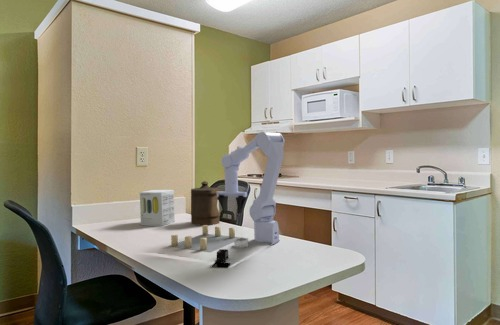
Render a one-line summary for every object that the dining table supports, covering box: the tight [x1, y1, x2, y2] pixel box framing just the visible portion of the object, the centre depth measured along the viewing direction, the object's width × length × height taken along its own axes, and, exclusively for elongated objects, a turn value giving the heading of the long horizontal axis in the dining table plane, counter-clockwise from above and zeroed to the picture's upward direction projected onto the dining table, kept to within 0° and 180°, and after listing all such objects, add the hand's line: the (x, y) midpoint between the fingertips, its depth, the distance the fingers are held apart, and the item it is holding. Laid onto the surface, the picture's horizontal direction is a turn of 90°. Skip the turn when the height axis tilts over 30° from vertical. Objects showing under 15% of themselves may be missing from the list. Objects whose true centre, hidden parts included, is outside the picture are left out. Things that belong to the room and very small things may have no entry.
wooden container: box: [190, 180, 220, 226], centre depth 185 cm, size 15×15×22 cm
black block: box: [210, 248, 232, 269], centre depth 114 cm, size 12×7×5 cm, turn 169°
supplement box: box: [139, 189, 176, 227], centre depth 187 cm, size 13×13×18 cm
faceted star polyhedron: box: [233, 237, 249, 249], centre depth 131 cm, size 6×5×4 cm
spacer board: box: [167, 225, 244, 253], centre depth 139 cm, size 20×24×5 cm
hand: (232, 212), depth 154 cm, fingers open, 7 cm apart
